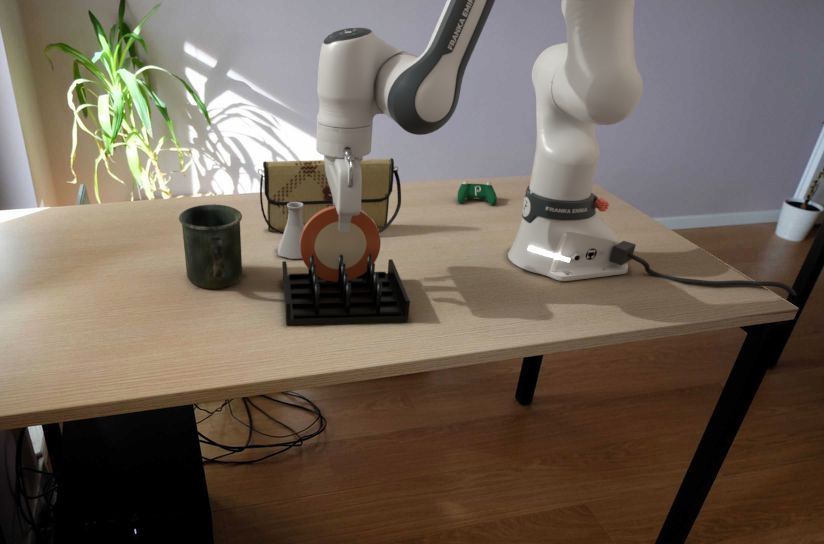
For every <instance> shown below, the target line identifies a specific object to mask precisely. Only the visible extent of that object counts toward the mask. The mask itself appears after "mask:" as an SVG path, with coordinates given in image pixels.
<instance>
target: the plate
mask: <svg viewBox="0 0 824 544" xmlns="http://www.w3.org/2000/svg"><path fill="white" fill-rule="evenodd" d="M338 219H339V215H338V213H337V210H336V207H335V206H330V207H327V208H325V209H323V210H321V211H319V212H317V213H316V214H315V215H313V216H312V217H311V218H310V219H309V221H308V222H307V223H306V225H305V226H304V228H303V231H302V233H301V237H300V251H301V256H302V258H301V259H302V261H303V263H304V265H305V266H306V268H307V270H308V269H309V270H310V256H311V255H314V264H315V265H316V274H317V275H318V277H320V278H322V279H324V280H328V281H333V282H338V271H339V255H341V254H342V255H343V263H344V264H345V265H346V267H345V273H348V281H349V280H352V279H355V278H357V277H359V276H361V275H363V274H364V273H365V272H367V259H368V254H371V255H372V260H371V263H374V264H375V263H376V261H377V259H378V257H379V254H380V250H381V235H380V234H381V233H379V229H378V226H376V224H375V223H374V221H373V219H372V218H371V217H370V216H369V215H368V214H367V213H365V212H364V211H362V210H361V211H360V214H359V215H356V216H352V218H351V221H350V230H349V232H339V229H338Z"/></svg>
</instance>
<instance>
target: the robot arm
mask: <svg viewBox="0 0 824 544" xmlns="http://www.w3.org/2000/svg"><path fill="white" fill-rule="evenodd" d="M495 2H496V0H446V2H445V5H444V6H443V9H442V11H441V14H440V16H439V18H438V20H437V23H436V26H435V28H434V30H433V32H432V34H431V37H430V39H429V42H428V44H427V45H426V48H425V49H424V51H423V52H422V53H421V54H420V56H418V55H415V54H414V53H411V52H408V51H405V50H402V49H400V48H398V47H397V46H396V47H395V46H394V45H392V44H390V43H388V42H386V41H385V40H383V39H381V38H380V37H378V36H377V35H376V34H375V33H374V32H373V30H371V29H370V28H367V27H348V28H343V29H339V30H335V31H333V32H332V33H330V34H329V35H327V36H326V37H325V38H324V39H323V41H322V44H321V47H320V53H319V58H318V66H317V67H318V68H317V85H316V87H317V90H316V93H317V97H318V103H319V108H318V111H317V112H318V113H317V116H316V145H315V146H316V147H315V148H316V152H318V154H320V155H323V160H324V162H325V172H326V177H327V180H328V183H329V187H330V190H331V193H332V197H333V206H335V207H336V210H337V213H338V215H339V219H338V229H339V232H349V230H350V221H351V218H352V216H356V215H359V214H360V211H361V190H362V176H361V167H360V165H359V164H361V163H362V162H363V159H364V157H365V156H368V155H369V154H371V152H372V143H373V142H372V140H373V139H372V138H373V124H374V117H375V116H377V115H385V116H386V117H388V118H390V119H391V120H393V121H394V122H395V123H396V124H397V125H398V126H399V127H400V128H401V129H403V130H404V131H405V132H407V133H409V134H412V135H417V136H423V135H424V136H425V135H428V134H429V135H430V134H432V133H434V132H436V131H438V130H439V129H441V128H442V127H444V126H445V125H446V124H447V123H448V122H449V121H450V120H451V118H452V117H453V115H454V113H455V111H456V109H457V106H458V104H459V99H460V96H461V95H460V94H461V89H462V84H463V79H464V76H465V72H466V69H467V67H468V64H469V62H470V59H471V58H472V55H473V52H474V51H475V48H476V46H477V44H478V41H479V39H480V37H481V34H482V32H483V30H484V27H485V25H486V23H487V21H488V18H489V16H490V14H491V12H492V9H493V7H494V4H495ZM635 2H636V0H561V2H560V3H561V5H560V6H561V13H562V15H563V18H564V23H565V29H566V42H562V43H561V42H560V43H557V44H553V45H551V46H549V47H547V48H545V49H544V50H543V51H542V52H541V53H540V54H539V55H538V56H537V58H536V59H535V61H534V63H533V66H532V69H531V82H532V86H533V90H534V92H535V93H534V94H535V113H536V115H535V117H536V119H535V120H536V142H535V143H536V144H535V153H534V158H533V159H534V160H533V163H532V170H531V176H530V181H529V185H528V186H527V187H526V189H525V194H524V199H523V202H522V209H521V221H520V224H519V227H518V230H517V232H516V235H515V238H514V240H513V243H512V245H511V247H510V248H509V250H508V253H507V257H508V259H509V261H510V262H512V264H513V265H515V266H517V267H518V268H520V269H523V270H525V271H528V272H531V273H535V274H539V275H542V276H546V277H548V278H551V279H553V280H555V281H559V282H569V281H578V280H579V281H580V280H584V279H586V280H587V279H595V278H601V277H602V278H603V277H610V276H618V275H624V274H625V275H626V274H627V273H628V271H629V264H628V262H630V261H631V260H633V261H635V262H638V263H639V264H641V266H643V267H644V271H645V272H646V273H647V274H649V275H651V276H653V277H657V278H661V279H664V280H665V279H666V280H670V281H673V282H678V283H682V284H690V285H699V286H709V287H710V286H711V287H720V286H751V287H775V288H780V289H783V290H785V291H786V292H787V293H788V294H789V295H790V296H797V292H796V291H795V290H794V289H793V288H792V287H791V286H790V285H788V284H785V283H783V282H779V281H768V280H767V281H765V280H764V281H761V280H760V281H757V280H743V279H741V280H739V279H738V280H735V279H733V280H703V279H696V278H684V277H677V276H671V275H667V274H664V273H663V274H662V273H660V272H657V271H655V270H653V269H651V267H650V264H649V262H647V261H646V260H645V259H644V258H641V257H639V256H637V255H636V254H634V252H635V249H636V246H637V245H636V243H632V242H630V241H626V240H623V241H620V240H619V239H620V238H619V236H618V234H617V233H616V232H615V230H614V229H613V228H612V227H611V226H610V225H609V224H608V223H607V222H606V221H605V220H604V219H603V218H602V217H601V216H599V214H597V211H596V210H598V211H599V212H606V211H607V210H608V209H609V207H610V206H609V205H610V203H609V201H607V200H605V199H604V198H602V197H600V198H599V196H597V195H596V194H594V193H593V192H592V191H593V187H594V182H595V179H596V174H597V170H598V166H599V161H600V157H601V149H600V146H599V145H600V144H599V142H598V138H597V133H596V125H598V126H609V125H610V126H611V125H616V124H618V123H620V122H622V121H624V120H626V119H627V118H628V117H629V116H631V114H632V113H633V112H634V111H635V109H637V107H638V105H639V103H640V101H641V98H642V94H643V91H644V83H643V79H642V75H641V73H640V72H639V69H638V66H637V62H636V55H635V40H634V39H635V38H634V14H635Z"/></svg>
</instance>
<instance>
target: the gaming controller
mask: <svg viewBox="0 0 824 544" xmlns="http://www.w3.org/2000/svg"><path fill="white" fill-rule="evenodd" d="M468 181H469V180H464V181H463V182H462V183H461V184H460V186H459V188H458V191H457V202H458V204H464V203H465V201H466V200H467V199H468V200H473V199H477V200H480V201H484V200H486V201H487V202H488V204H489V205H491V206H496V205H497V202H498V197H497V193H496V191H495V189H494V187H493V185H492V182H491V181H486V184H485V183H469V182H468Z"/></svg>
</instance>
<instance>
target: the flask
mask: <svg viewBox="0 0 824 544" xmlns="http://www.w3.org/2000/svg"><path fill="white" fill-rule="evenodd" d="M287 207H288V209H289V215H288V220H287V225H286V228H285V230H283V231H284V233H283V234H282V236H281V239H280V242H279V245H278V247H277V254H278V256H280V257H282V258H286V259H290V260H294V259H295V260H296V259H297V260H298V259H302V256H301V251H300V237H301V233H302V231H303V228H304V224H303V219H302V208H303V203H300V202H290V203H288V204H287Z"/></svg>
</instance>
